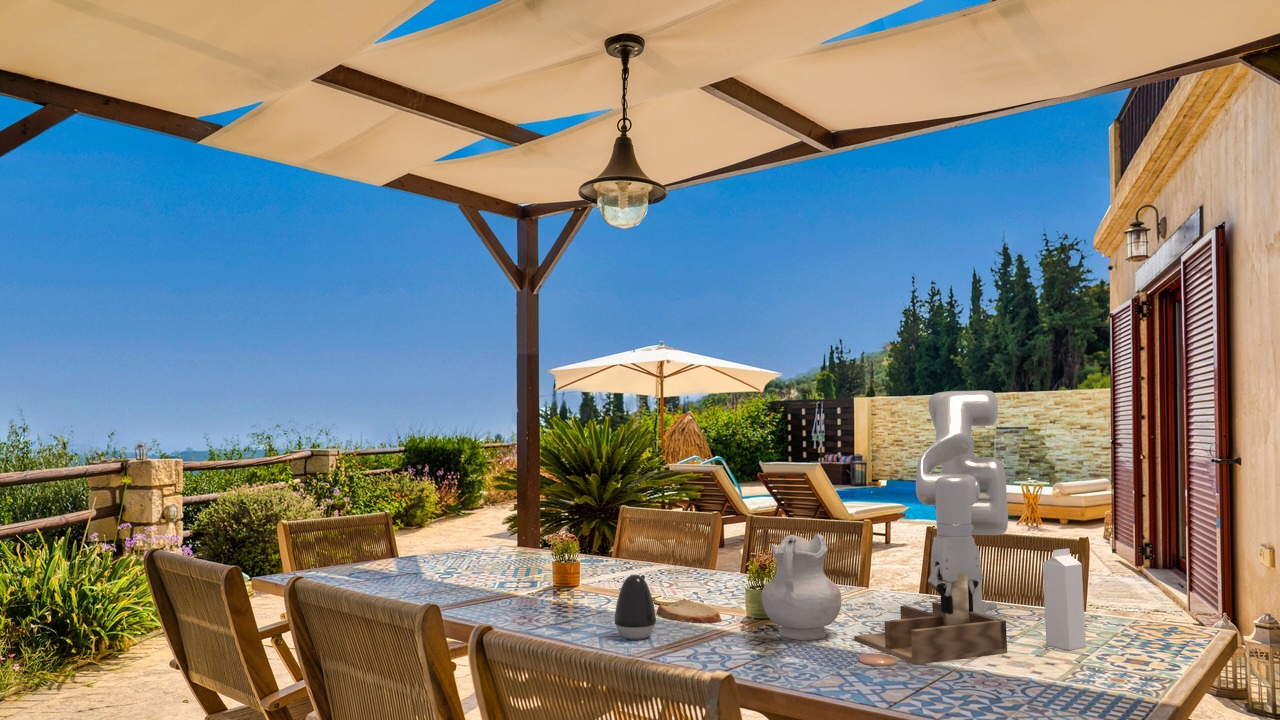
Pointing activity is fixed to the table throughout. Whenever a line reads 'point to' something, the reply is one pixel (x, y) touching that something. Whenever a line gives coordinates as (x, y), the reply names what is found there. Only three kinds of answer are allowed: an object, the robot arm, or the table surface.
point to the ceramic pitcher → (801, 589)
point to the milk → (1064, 601)
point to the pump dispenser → (635, 609)
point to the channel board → (938, 636)
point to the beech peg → (959, 602)
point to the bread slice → (689, 612)
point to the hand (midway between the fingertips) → (957, 611)
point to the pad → (877, 659)
